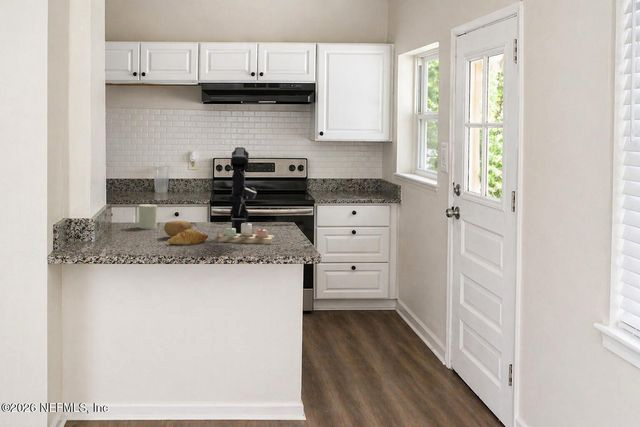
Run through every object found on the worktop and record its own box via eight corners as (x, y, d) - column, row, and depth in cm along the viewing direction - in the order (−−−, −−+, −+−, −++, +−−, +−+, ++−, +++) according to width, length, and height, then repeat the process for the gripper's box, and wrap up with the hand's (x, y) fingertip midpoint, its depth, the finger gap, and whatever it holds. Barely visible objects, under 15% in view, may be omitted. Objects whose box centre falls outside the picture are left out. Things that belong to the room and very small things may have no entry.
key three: (255, 242, 378) (256, 230, 377) (257, 240, 383) (257, 228, 382) (266, 242, 378) (266, 230, 377) (267, 241, 383) (268, 229, 382)
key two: (240, 236, 378) (240, 224, 377) (241, 234, 383) (242, 222, 382) (250, 236, 378) (251, 224, 377) (252, 235, 383) (252, 223, 382)
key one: (224, 240, 379) (224, 228, 378) (226, 239, 383) (226, 227, 383) (234, 241, 378) (235, 229, 378) (236, 239, 383) (236, 227, 383)
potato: (196, 237, 385) (196, 221, 384) (170, 239, 376) (170, 223, 375) (185, 234, 393) (185, 218, 392) (159, 237, 383) (160, 220, 382)
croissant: (171, 253, 360) (175, 239, 357) (160, 240, 366) (164, 226, 363) (210, 248, 375) (215, 234, 371) (199, 236, 380) (204, 222, 377)
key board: (217, 241, 376) (218, 236, 375) (221, 238, 387) (222, 233, 386) (271, 243, 375) (271, 238, 374) (273, 240, 385) (273, 235, 385)
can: (160, 227, 413) (161, 204, 412) (147, 229, 405) (148, 205, 404) (147, 225, 418) (147, 202, 417) (134, 227, 410) (134, 204, 409)
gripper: (252, 184, 367) (251, 218, 369) (258, 181, 386) (257, 213, 388) (228, 183, 368) (227, 217, 370) (235, 180, 387) (234, 212, 389)
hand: (237, 215), depth 379 cm, fingers closed
